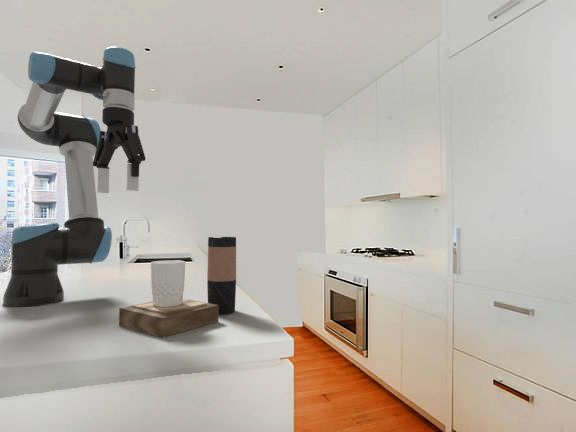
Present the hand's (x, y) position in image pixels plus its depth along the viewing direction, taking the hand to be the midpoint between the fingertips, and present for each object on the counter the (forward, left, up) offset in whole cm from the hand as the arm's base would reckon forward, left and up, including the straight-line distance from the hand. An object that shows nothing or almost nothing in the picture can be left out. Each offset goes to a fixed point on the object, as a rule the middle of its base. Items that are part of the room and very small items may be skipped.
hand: (117, 191), depth 99 cm
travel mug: (+19, +19, -32) cm, 42 cm away
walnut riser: (+18, +3, -32) cm, 37 cm away
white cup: (+18, +3, -27) cm, 33 cm away
